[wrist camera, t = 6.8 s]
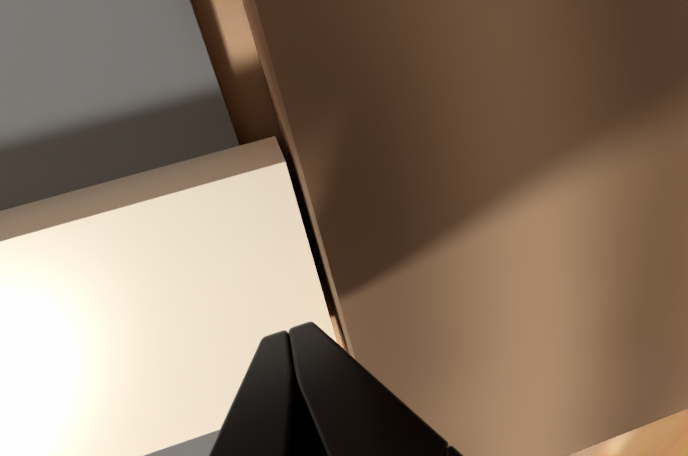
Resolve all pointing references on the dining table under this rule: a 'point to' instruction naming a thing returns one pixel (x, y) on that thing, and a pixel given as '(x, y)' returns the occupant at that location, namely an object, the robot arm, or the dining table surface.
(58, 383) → the thick cream rectangular block
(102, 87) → the mat
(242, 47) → the dining table surface
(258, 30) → the brown wooden block
